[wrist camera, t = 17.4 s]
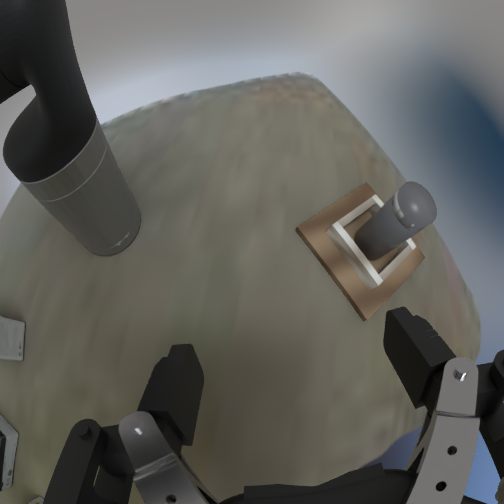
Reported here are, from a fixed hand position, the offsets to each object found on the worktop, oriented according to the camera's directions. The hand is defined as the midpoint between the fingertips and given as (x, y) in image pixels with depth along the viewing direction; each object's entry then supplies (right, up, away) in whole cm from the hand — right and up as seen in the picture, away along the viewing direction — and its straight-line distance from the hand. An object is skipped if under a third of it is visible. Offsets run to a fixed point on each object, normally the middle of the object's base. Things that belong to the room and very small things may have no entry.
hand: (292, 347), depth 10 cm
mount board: (+15, +5, +26) cm, 30 cm away
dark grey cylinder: (+15, +5, +25) cm, 29 cm away
